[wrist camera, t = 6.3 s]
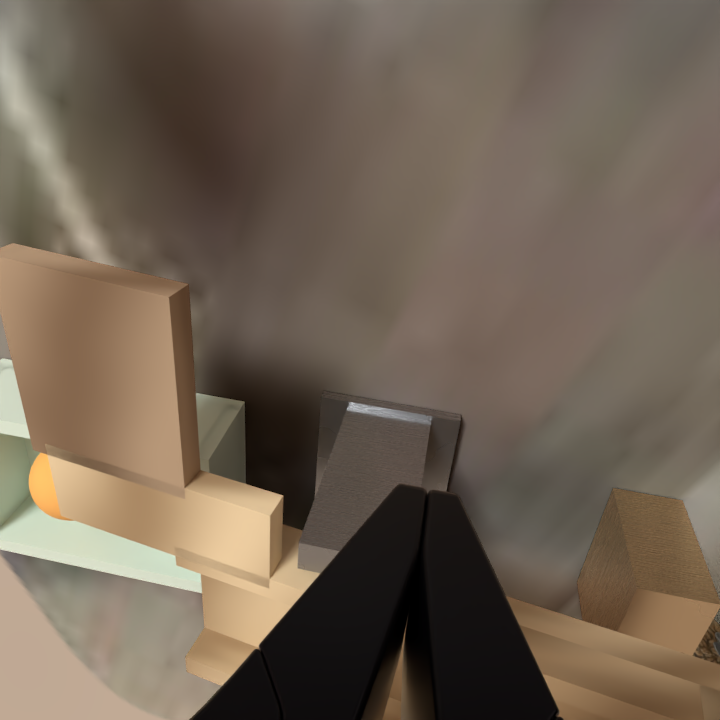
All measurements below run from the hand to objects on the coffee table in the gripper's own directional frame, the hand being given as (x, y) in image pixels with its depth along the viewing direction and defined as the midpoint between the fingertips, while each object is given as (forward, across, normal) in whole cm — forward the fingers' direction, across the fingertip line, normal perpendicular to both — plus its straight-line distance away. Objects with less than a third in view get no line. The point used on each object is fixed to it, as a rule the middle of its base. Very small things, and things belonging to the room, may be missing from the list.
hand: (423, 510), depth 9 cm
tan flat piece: (+6, +1, +7) cm, 10 cm away
